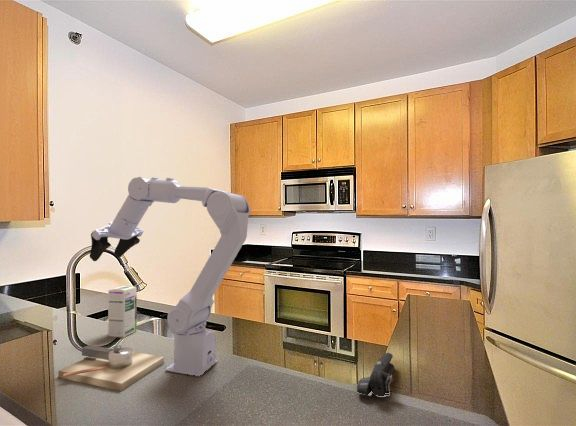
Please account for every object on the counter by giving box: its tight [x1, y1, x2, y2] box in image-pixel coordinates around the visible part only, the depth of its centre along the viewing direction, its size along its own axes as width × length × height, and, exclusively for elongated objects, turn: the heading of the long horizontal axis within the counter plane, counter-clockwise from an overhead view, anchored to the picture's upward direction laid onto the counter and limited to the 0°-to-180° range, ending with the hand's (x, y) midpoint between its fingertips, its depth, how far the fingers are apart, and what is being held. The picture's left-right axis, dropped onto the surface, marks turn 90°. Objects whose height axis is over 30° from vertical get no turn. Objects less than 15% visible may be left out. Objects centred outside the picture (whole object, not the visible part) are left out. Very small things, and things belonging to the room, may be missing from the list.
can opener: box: [356, 352, 395, 396], centre depth 67 cm, size 18×7×6 cm, turn 149°
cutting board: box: [57, 347, 165, 392], centre depth 71 cm, size 18×15×2 cm
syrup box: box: [107, 285, 138, 339], centre depth 95 cm, size 6×6×14 cm
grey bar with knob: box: [81, 344, 134, 369], centre depth 73 cm, size 14×5×4 cm, turn 73°
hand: (105, 257), depth 84 cm, fingers open, 7 cm apart
